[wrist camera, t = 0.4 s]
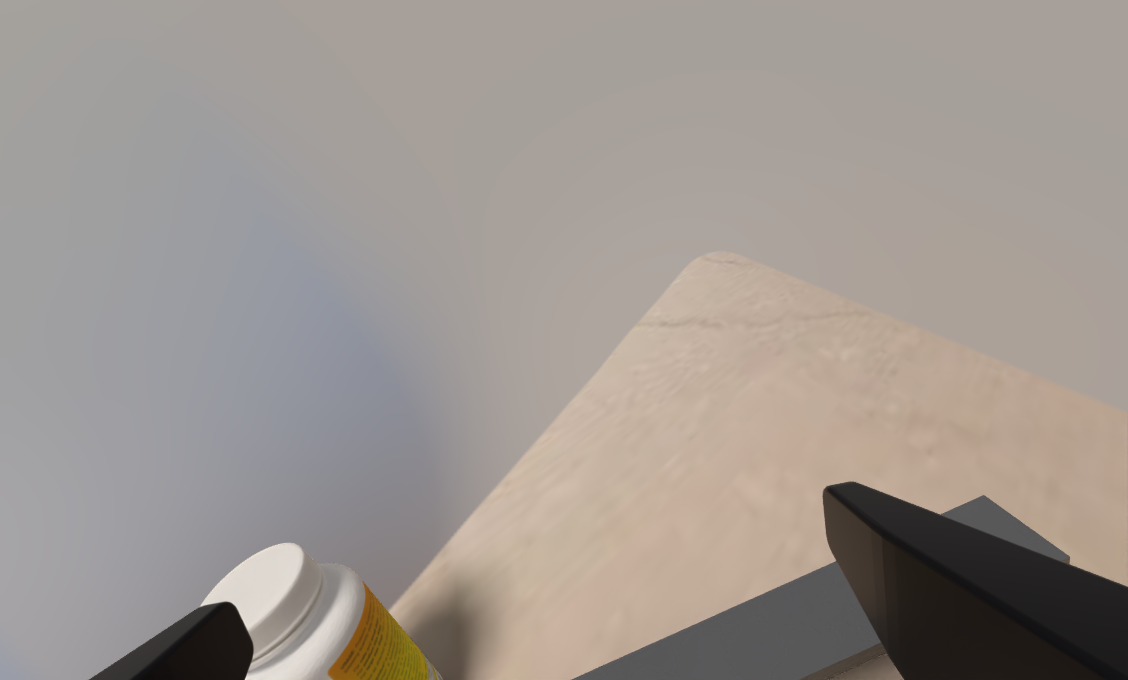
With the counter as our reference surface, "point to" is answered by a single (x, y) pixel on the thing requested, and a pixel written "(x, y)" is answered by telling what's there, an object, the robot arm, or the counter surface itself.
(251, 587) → the supplement bottle
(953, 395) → the counter surface
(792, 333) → the counter surface
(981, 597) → the robot arm
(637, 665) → the grey flat bar piece
